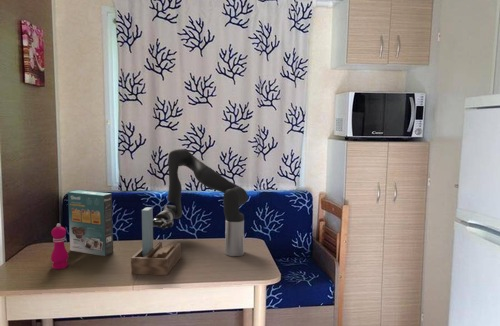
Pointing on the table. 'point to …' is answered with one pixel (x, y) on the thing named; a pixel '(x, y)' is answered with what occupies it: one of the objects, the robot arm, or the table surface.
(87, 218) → the cake mix box
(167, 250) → the offcuts
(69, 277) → the table surface
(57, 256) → the pepper mill
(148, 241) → the panel
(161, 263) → the rack
